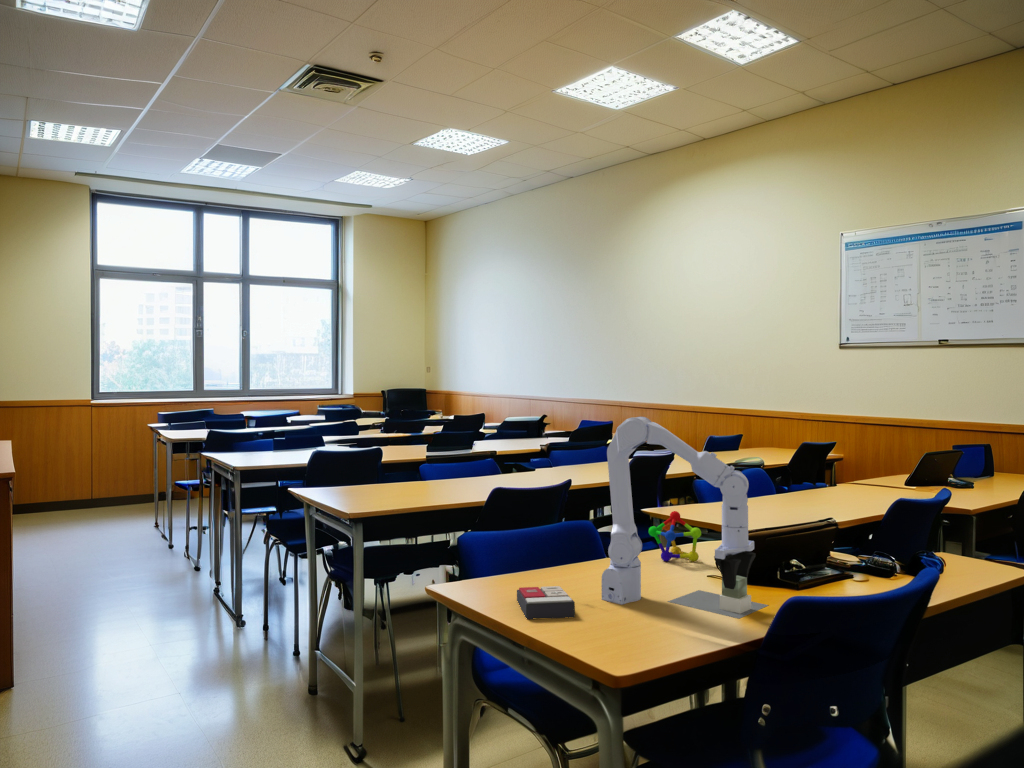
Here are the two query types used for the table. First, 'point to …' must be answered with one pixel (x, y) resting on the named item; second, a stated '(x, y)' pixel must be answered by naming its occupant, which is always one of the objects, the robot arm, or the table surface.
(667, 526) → the educational toy
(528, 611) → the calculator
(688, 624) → the table surface
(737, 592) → the green cube
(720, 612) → the base mat
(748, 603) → the base brick
